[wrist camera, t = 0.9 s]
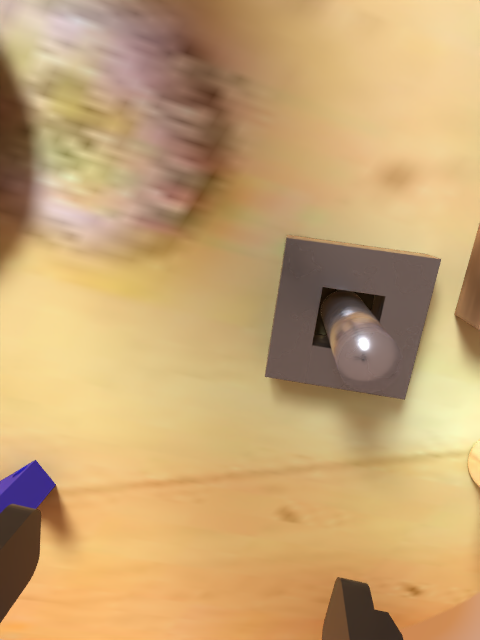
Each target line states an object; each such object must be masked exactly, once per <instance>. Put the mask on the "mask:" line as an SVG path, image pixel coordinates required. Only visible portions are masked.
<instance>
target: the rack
mask: <svg viewBox="0 0 480 640" xmlns="http://www.w3.org/2000/svg"><path fill="white" fill-rule="evenodd" d="M455 315H456V316H458V317H459V318H461V319H463V320H464V321H466V322H467V323H469V324H470V325H472V326H473V327H475V328H477V329H478V330H480V224H479V228H478V231H477V235H476V239H475V242H474V246H473V249H472V253H471V257H470V260H469V264H468V267H467V271H466V275H465V278H464V282H463V285H462V289H461V293H460V296H459V300H458V303H457V307H456V311H455Z"/></svg>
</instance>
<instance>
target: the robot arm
mask: <svg viewBox="0 0 480 640" xmlns="http://www.w3.org/2000/svg"><path fill="white" fill-rule="evenodd" d="M40 529H41V512H40V510H38V509H34V508H29V507H25V506H20V505H16V504H10V505H8V506H7V507H6V508H5V509H4V510H3V511H2V512H1V513H0V623H1V621H2V620H3V619H4V617H5V616H6V614H7V613H8V611H9V610H10V608H11V607H12V606H13V604H14V603H15V601H16V600H17V598H18V597H19V595H20V594H21V593H22V591H23V590H24V588H25V587H26V585H27V584H28V582H29V581H30V579H31V578H32V576H33V574H34V571H35V569H36V566H37V563H38V560H39V554H40ZM322 640H403V637H402V634H401V633H400V631H399V629H398V628H397V626H396V625H395V623H394V621H393V620H392V618H391V617H390V615H389V613H387V612H383V611H378V610H374V606H373V601H372V597H371V592H370V588H369V586H368V584H367V583H362V582H358V581H353V580H349V579H344V578H340V577H338V578H337V579H336V581H335V585H334V588H333V592H332V595H331V599H330V603H329V606H328V610H327V613H326V617H325V620H324V625H323V633H322Z"/></svg>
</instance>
